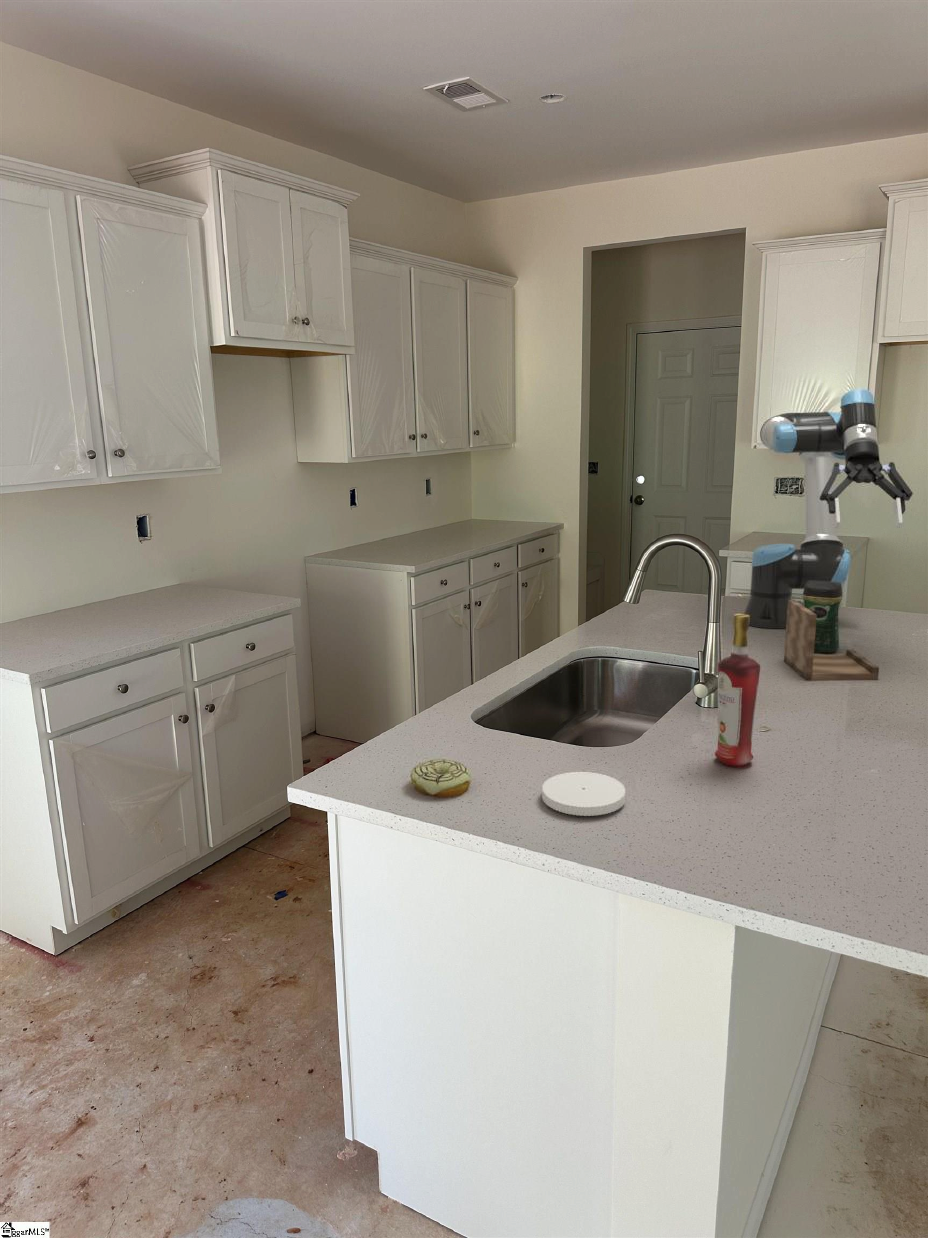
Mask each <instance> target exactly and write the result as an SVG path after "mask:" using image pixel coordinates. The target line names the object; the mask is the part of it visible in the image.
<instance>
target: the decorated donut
mask: <svg viewBox="0 0 928 1238" xmlns="http://www.w3.org/2000/svg"><path fill="white" fill-rule="evenodd" d="M410 781H411V783H412V785H413V787H414V788H415V789H416V790H417V792H419V793H420V794H422V793H423V795H425V794H426V796H431V797H437V798H439V797H442V798H451V797H450V796H452V797H457V796H461V795H462V794H463V793H465V792H466V791H467V790H468V789H469V787H470V785H471V782H472V773H471V771H470V769H469V768H468V767H467V765H465V764H464V763H461V762H459V761H456V760H450V759H445V758H444V759H443V758H442V759H441V758H439V759H438V758H437V759H430V760H426V761H424V762H421V763H419V764H417V765H415V766H413V767H412V769H411V770H410Z"/></svg>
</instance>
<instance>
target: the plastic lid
mask: <svg viewBox="0 0 928 1238" xmlns="http://www.w3.org/2000/svg"><path fill="white" fill-rule="evenodd" d="M626 793H627V790H626V786H625V785H624V784H623V783H622V782H621V781H619V780H618V779H616V778H613V777H612V776H609V775H605V774H603V773H602V774H601V773H597V772H590V771H588V772H587V771H573V772H572V771H570V772H564V773H560V774H556V775H554V776H551V777H550V778H548V779H546V780H545V781H544V782H543V783H542V786H541V798H542V801H543V803H544V804H545V805H546V806H548V807H549V808H551V809H553V810H555V811H556V812H559V813H563V814H566V815H567V814H568V815H573V816H581V817H582V816H584V817H587V816H588V817H590V816H592V817H593V816H595V817H596V816H601V815H607V814H611V813H613V812H615V811H617V810H619V809H621V808H622V807H623V806H624V804H625V803H626V799H627V798H626V797H627V796H626Z"/></svg>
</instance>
